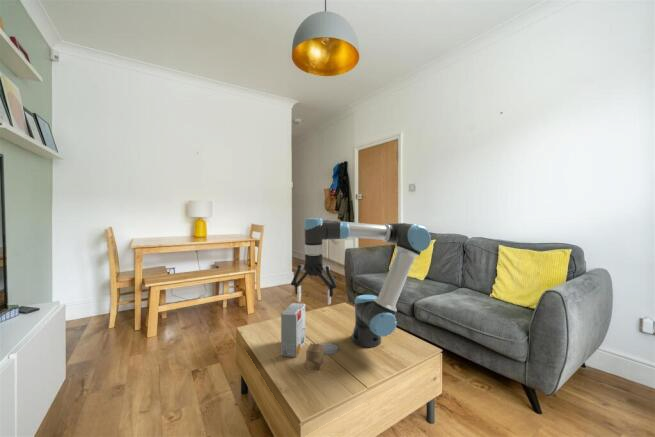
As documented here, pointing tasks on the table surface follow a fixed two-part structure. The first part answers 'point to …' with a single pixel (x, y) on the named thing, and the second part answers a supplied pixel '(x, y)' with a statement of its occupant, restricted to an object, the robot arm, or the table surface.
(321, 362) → the walnut block
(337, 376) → the table surface
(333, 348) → the slate coaster
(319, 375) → the table surface
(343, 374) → the table surface
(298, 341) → the hard drive box
